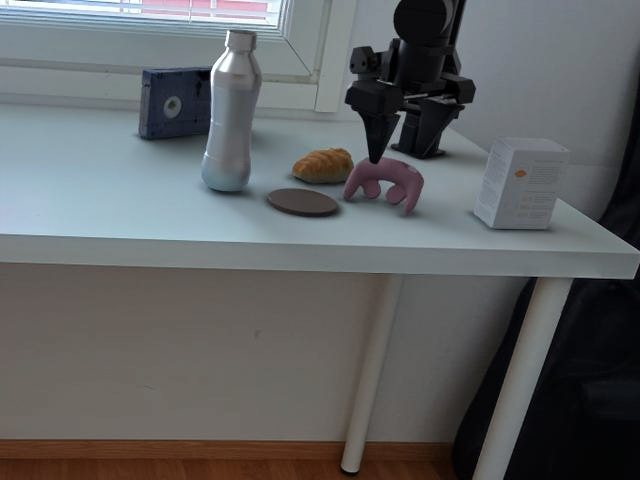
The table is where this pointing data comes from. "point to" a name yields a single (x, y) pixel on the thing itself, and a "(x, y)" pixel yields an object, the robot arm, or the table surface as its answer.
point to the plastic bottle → (232, 113)
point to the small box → (521, 183)
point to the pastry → (324, 166)
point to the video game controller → (386, 170)
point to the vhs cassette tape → (175, 102)
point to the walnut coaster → (302, 202)
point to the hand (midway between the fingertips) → (396, 159)
